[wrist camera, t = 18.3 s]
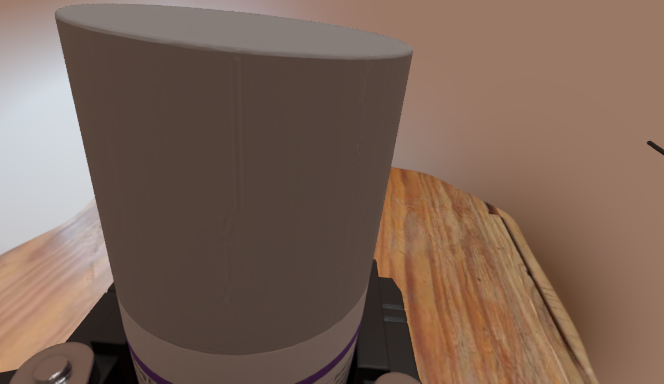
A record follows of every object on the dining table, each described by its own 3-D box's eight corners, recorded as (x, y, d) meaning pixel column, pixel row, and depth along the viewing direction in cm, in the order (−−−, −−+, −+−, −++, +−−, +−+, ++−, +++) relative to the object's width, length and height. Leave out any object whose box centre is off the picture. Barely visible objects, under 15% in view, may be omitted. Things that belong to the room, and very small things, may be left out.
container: (225, 407, 15) (198, 3, 7) (332, 444, 14) (425, 37, 6) (146, 559, 10) (-98, -4, 3) (292, 623, 10) (418, 84, 2)
